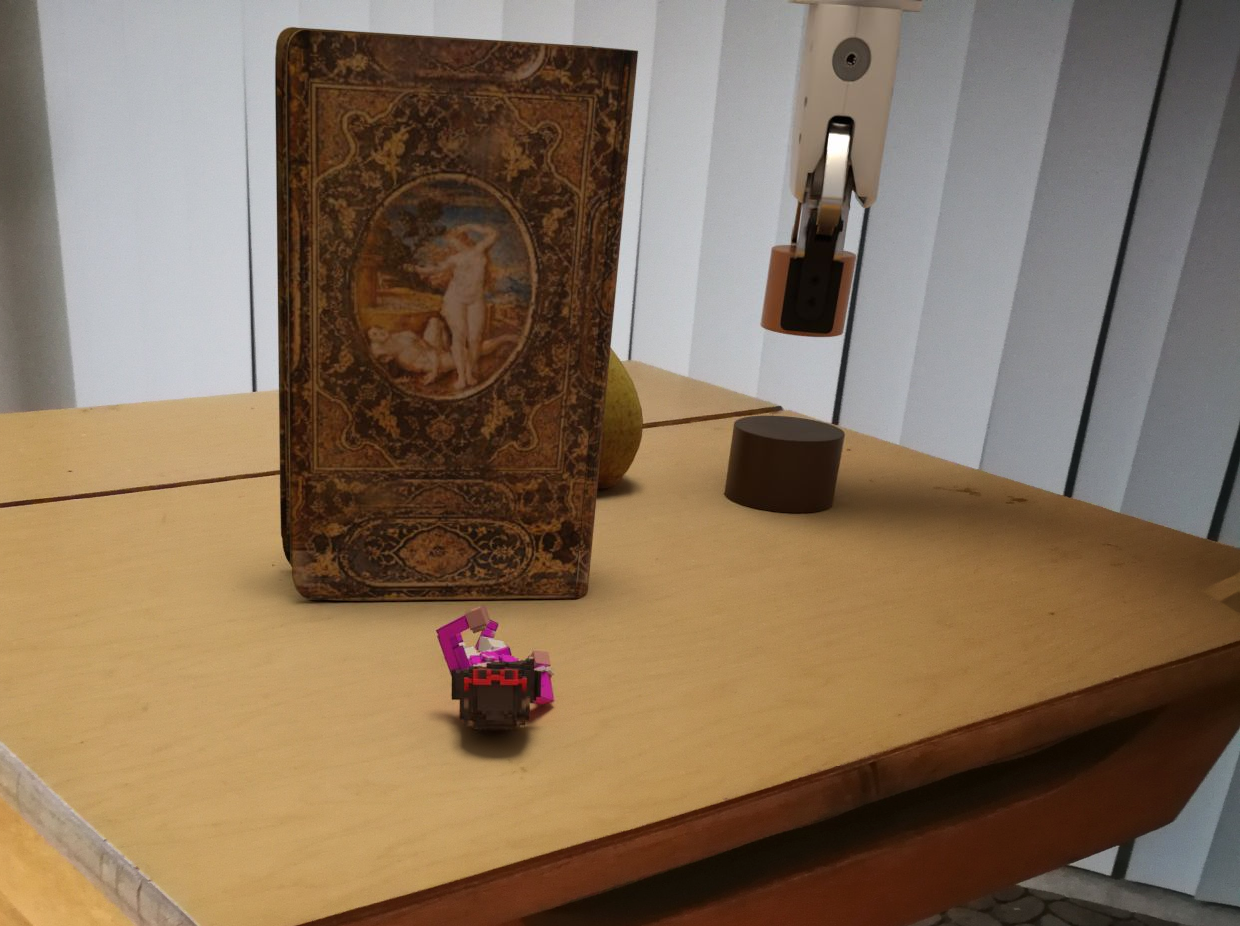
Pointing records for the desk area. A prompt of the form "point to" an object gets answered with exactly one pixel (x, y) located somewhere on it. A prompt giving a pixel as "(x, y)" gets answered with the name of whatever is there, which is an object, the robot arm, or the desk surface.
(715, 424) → the desk surface
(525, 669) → the character figurine
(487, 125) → the book
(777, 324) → the top cylinder
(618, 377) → the fruit
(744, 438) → the cylinder
